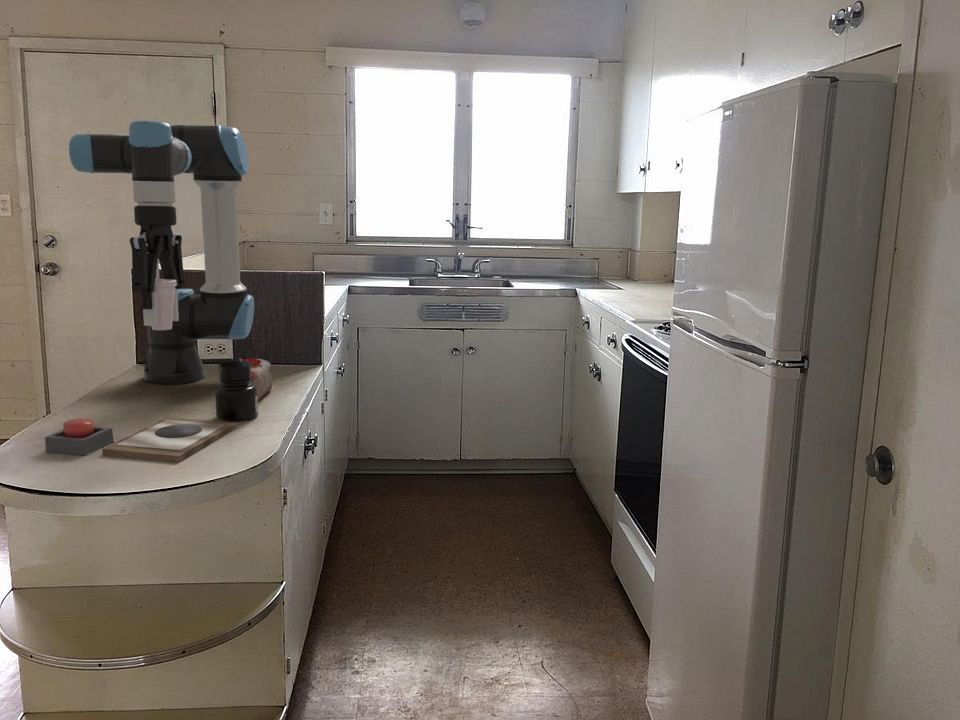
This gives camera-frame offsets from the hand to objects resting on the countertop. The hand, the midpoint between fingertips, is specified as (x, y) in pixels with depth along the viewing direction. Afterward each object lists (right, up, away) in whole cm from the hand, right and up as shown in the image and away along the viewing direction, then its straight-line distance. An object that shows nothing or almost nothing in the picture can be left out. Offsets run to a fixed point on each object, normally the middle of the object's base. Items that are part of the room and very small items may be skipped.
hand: (161, 322), depth 158 cm
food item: (+7, -17, +36) cm, 40 cm away
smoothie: (0, -1, 0) cm, 1 cm away
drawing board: (+2, -24, +2) cm, 24 cm away
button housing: (-15, -24, -3) cm, 29 cm away
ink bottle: (+9, -20, +20) cm, 30 cm away
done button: (-15, -22, -4) cm, 27 cm away
